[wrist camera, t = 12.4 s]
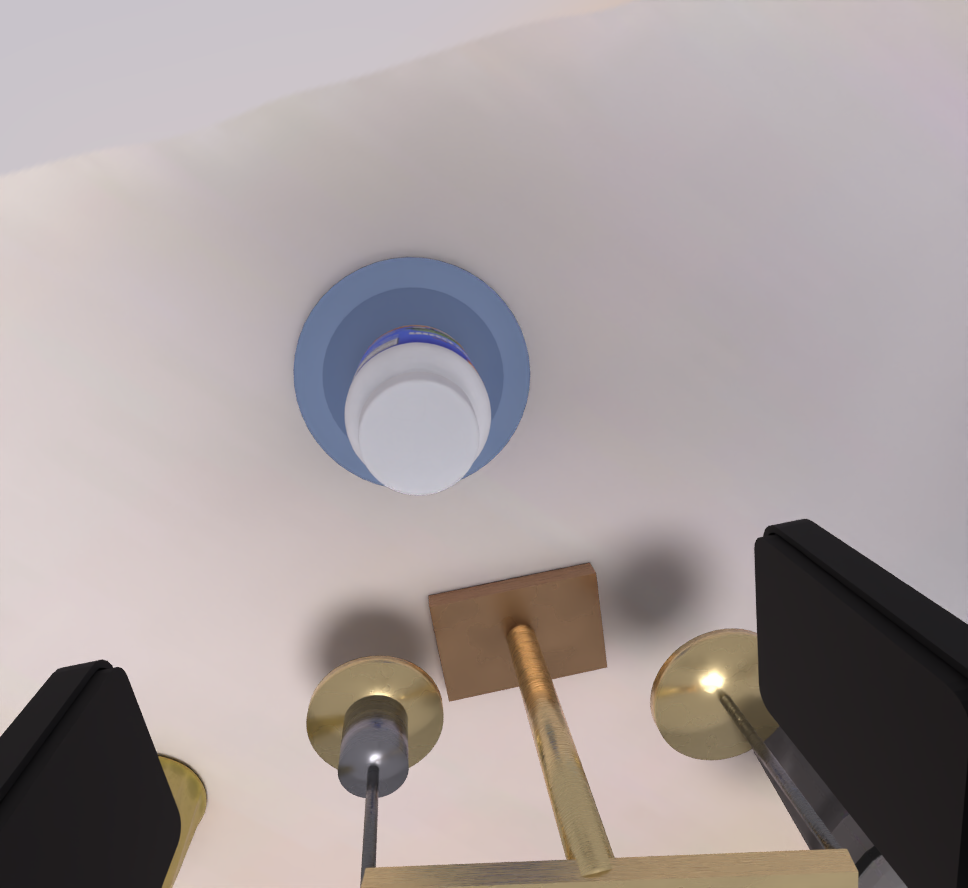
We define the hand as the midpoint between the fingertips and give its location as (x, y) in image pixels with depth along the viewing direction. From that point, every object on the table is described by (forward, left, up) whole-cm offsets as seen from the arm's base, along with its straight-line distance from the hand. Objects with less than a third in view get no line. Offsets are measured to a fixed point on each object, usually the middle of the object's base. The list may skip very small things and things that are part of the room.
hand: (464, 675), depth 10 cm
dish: (0, 0, -23) cm, 23 cm away
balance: (-3, +15, -23) cm, 28 cm away
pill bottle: (0, 0, -22) cm, 22 cm away
